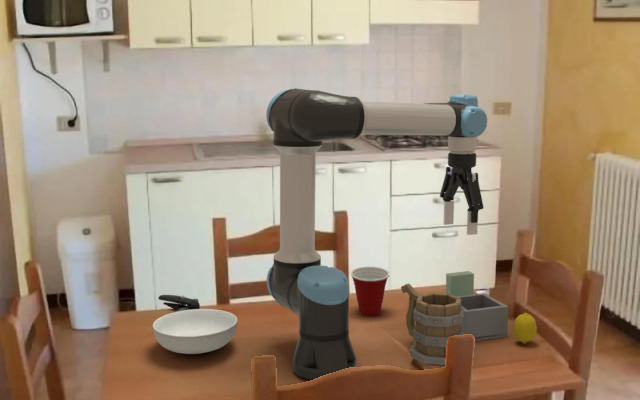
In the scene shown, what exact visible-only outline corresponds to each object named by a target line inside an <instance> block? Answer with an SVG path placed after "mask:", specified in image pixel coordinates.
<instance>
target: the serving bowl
mask: <svg viewBox="0 0 640 400" xmlns="http://www.w3.org/2000/svg"><path fill="white" fill-rule="evenodd" d="M238 321H239V320H238V317H237V316H236V315H235V314H234V313H232V312H230V311H225V310H220V309H213V308H200V309H193V310H184V311H178V312H176V311H174V312H171V313H167V314H165V315H161V316H160V317H159V318H157V319H155V320H154V321H153V323H152V330H153V334H154V337H155V339H156V341H157V342H158V344H159V345H160V346H161V347H163V348H165V350H168V351H170V352H173V353H178V354H185V355H198V354H203V353H209V352H213V351H215V350H218V349H221V348H223V347H224V346H226V345H227V344H228V343H230V341H232V340H233V337H234V336H235V334H236V332H237V329H238V323H239V322H238Z"/></svg>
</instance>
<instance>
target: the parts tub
mask: <svg viewBox="0 0 640 400" xmlns="http://www.w3.org/2000/svg"><path fill="white" fill-rule="evenodd" d="M456 297H458V298H460V299H461V307H462V308H463V309H464V310H463V315H464V317H463V320H462V323H461V327H462V328H463V334H472V335H473V336H474V337H475V341H474V342H477V341H478V342H479V341H487V340H492V339H499V338H500V339H501V338H508V329H509V328H508V327H509V326H508V325H509V324H508V323H509V321H508V320H509V318H508V317H509V306H508V305H506V304H505V303H503V302H501V301H499V300H497V299H496V298H494V297H492V296H490V295H488V294H487V293H485V292H482V293H474V294H472V295H464V296H456Z"/></svg>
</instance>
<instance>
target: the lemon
mask: <svg viewBox="0 0 640 400" xmlns="http://www.w3.org/2000/svg"><path fill="white" fill-rule="evenodd" d="M537 327H538V326H537V322H536V319H535V318H534V317H533V316H532V315H531V314H529V313H528V312H523V313H521V314H519V315H518V316H517V317H516V318H515V320H514V324H513V333H514V336H515V338H516V339H517V340H518V341H520V342H521V343H522V344H523V345H524V344H525V345H526V344H527V343H528V342H532V341H533V340H534V339H535V337H536V336H537V335H536V334H537V331H538V330H537V329H538V328H537Z"/></svg>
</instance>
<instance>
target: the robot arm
mask: <svg viewBox="0 0 640 400" xmlns="http://www.w3.org/2000/svg"><path fill="white" fill-rule="evenodd" d="M266 122H267V125H268V126H269V128H270V129H271V131H272V132H273V147H274V148H275V149H276V150H277V151H278V152H279V249H278V251H277V252H276V253H274V255H273V264H272V265H271V267H270V268H269V269H268V272H267V276H266V287H267V290H268V292H269V295H270V296H271V297H272V298H273V299H274V301H275V302H277V303H278V304H279V305H280V306H282V307H284V308H285V309H286V308H287V310H290V311H291V312H293V313H294V314H295V315H297V316H298V330H299V331H298V334H299V337H298V340H297V342H296V347H295V350H294V353H293V355H292V360H291V361H292V362H291V363H292V364H291V365H292V371H293V373H294V374H295V375H297V376H299V377H302V378H304V379H309V380H312V379H315V378H318V377H320V376H323V375H326V374H329V373H333V372H336V371H339V370H342V369H345V368H349V367H355V366H356V367H357V356H356V353H355V349H354V347H353V345H352V341H351V339H350V336H349V335H350V332H349V331H350V329H349V328H350V327H349V326H350V320H349V318H350V317H349V313H350V311H349V310H350V309H349V308H350V307H349V301H350V300H349V299H350V287H349V280H348V277H347V275H346V273H345V272H343V271H342V270H340V269H339V268H336V267H333V266H330V267H328V266H327V265H322V261H321V260H322V258H321V257H322V256H321V254H319V253H318V252H317V250H316V249H315V247H316V244H315V243H316V242H315V241H316V240H315V239H316V238H315V237H316V235H315V234H316V160H317V159H316V153H317V152H318V151H319V150H320V149H321V148H322V146H323V142H325V141H327V142H328V141H336V140H337V141H338V140H356V139H359V138H360V137H361V136H362V135H363V136H365V135H366V136H367V135H368V136H369V135H370V136H371V135H373V136H374V135H375V136H376V135H377V136H378V135H379V136H446V137H447V136H448V139H447V141H448V142H447V143H448V145H447V147H448V149H447V150H448V151H449V152H448V154H447V165H448V166H446V167H445V175H444V179H443V183H442V185H441V189H440V194H439V198H441V199H442V201H443V225H445V226H446V225H447V226H449V225H454V216H455V215H454V214H455V213H454V212H455V211H454V209H455V198H454V197H455V195H456V193H457V191H458V190H459V188H460V189H461V190H462V192H463V193H464V197H465V200H466V202H467V206H468V208H467V210H466V211H467V214H466V215H467V217H466V218H467V219H466V221H467V222H466V235H468V236H471V235H478V225H479V223H478V222H479V211H481V210H483V209H484V203H483V198H482V193H481V189H480V184H479V172H472V168H474V167H476V166H477V153H476V151H477V145H478V144H477V143H478V138H477V137H480V136H481V135H483V134H484V133H485V131H486V129H487V126H488V116H487V114H486V112H485V110H484V109H482V108H481V107H479V100H478V96H477V95H476V94H468V93H467V94H466V93H465V94H464V93H461V94H460V93H459V94H457V93H455V94H451V95H450V96H449V100H448V102H424V103H413V102H412V103H411V102H408V103H407V102H387V101H386V102H384V101H383V102H382V101H381V102H380V101H379V102H378V101H362V99H361V98H360V97H358V96H347V95H341V94H336V93H331V92H326V91H323V90H318V89H317V90H315V89H303V88H288V89H284V90H281V91H280V92H278V93H276V94H275V95H274V96H273V97H272V98H271V100H270V101H269V103H268V106H267V109H266Z"/></svg>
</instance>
